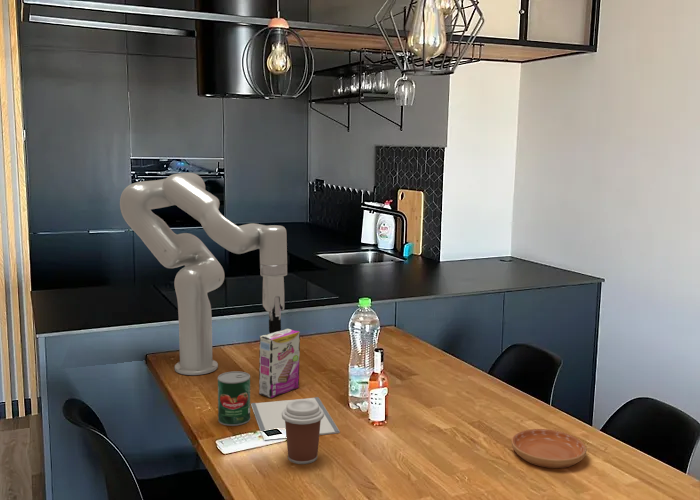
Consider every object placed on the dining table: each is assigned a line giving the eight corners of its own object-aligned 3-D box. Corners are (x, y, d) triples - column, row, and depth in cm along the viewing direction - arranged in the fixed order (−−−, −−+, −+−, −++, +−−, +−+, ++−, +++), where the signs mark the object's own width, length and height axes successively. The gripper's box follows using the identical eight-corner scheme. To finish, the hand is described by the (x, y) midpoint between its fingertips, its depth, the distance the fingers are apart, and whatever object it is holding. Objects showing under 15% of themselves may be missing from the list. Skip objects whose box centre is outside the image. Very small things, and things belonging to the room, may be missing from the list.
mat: (250, 405, 178) (250, 403, 178) (318, 398, 183) (318, 397, 183) (263, 441, 157) (263, 438, 157) (339, 432, 162) (339, 430, 162)
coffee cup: (332, 457, 149) (332, 405, 147) (300, 471, 143) (300, 417, 141) (305, 444, 156) (305, 393, 154) (273, 456, 150) (272, 404, 148)
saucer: (497, 456, 152) (498, 443, 151) (532, 434, 163) (533, 422, 163) (565, 480, 141) (566, 467, 141) (597, 455, 153) (598, 442, 152)
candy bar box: (271, 399, 182) (271, 339, 179) (258, 394, 185) (258, 336, 183) (300, 387, 191) (300, 330, 188) (287, 383, 194) (287, 327, 191)
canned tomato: (225, 428, 164) (225, 384, 162) (213, 417, 170) (212, 374, 168) (256, 421, 168) (255, 378, 166) (242, 410, 174) (242, 369, 173)
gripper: (256, 265, 198) (258, 327, 201) (264, 275, 184) (265, 341, 187) (282, 264, 200) (283, 325, 203) (292, 273, 186) (293, 339, 189)
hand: (275, 333), depth 195 cm, fingers closed
